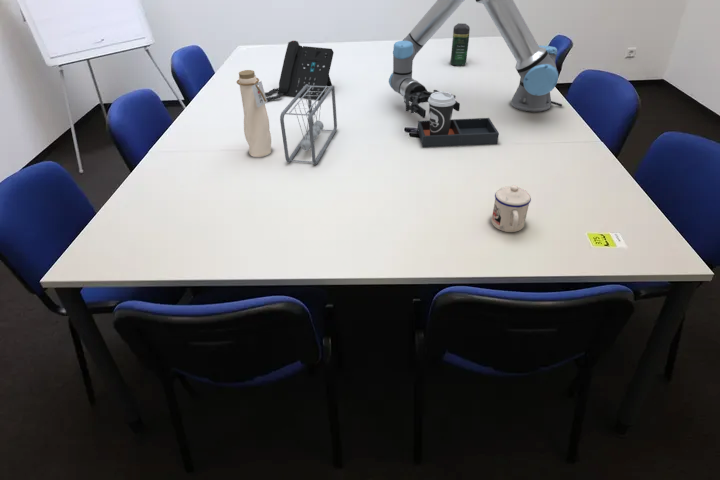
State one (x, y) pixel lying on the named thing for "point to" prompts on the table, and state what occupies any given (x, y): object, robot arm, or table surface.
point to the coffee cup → (440, 112)
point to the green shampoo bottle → (460, 44)
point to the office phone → (304, 71)
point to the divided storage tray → (460, 133)
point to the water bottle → (255, 114)
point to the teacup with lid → (510, 208)
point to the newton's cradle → (313, 127)
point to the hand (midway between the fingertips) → (441, 110)
